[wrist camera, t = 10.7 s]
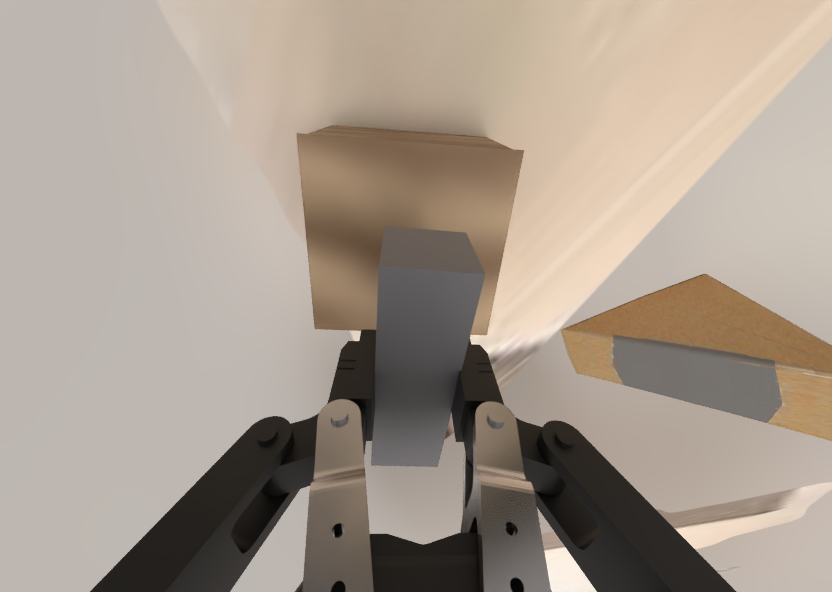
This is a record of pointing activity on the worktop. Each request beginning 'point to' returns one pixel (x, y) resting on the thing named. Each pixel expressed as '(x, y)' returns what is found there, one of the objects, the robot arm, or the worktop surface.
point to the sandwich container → (711, 354)
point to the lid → (396, 214)
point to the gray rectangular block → (421, 340)
